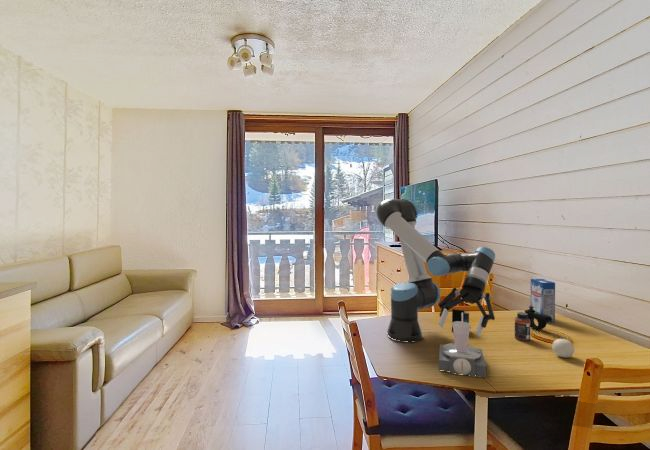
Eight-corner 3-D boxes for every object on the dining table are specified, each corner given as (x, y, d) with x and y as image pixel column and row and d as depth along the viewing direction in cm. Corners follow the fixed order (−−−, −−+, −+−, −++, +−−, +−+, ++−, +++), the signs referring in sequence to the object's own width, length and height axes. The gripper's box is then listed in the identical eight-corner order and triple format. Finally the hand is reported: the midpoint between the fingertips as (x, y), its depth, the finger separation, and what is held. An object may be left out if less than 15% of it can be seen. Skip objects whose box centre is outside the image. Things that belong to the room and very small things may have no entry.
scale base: (438, 372, 116) (438, 355, 116) (440, 353, 131) (439, 339, 131) (486, 379, 111) (486, 361, 110) (481, 359, 126) (481, 343, 125)
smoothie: (462, 355, 117) (462, 315, 116) (447, 348, 122) (447, 311, 122) (474, 351, 120) (474, 313, 119) (459, 345, 125) (459, 308, 125)
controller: (529, 325, 162) (529, 304, 162) (553, 333, 151) (553, 311, 150) (522, 326, 161) (522, 305, 161) (546, 334, 149) (546, 312, 149)
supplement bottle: (532, 342, 141) (532, 315, 141) (517, 341, 143) (517, 315, 142) (527, 336, 147) (527, 311, 147) (512, 336, 149) (512, 311, 148)
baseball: (577, 357, 126) (578, 340, 126) (569, 362, 122) (569, 344, 122) (557, 351, 132) (558, 334, 132) (549, 355, 128) (549, 338, 128)
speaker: (463, 334, 151) (463, 311, 152) (451, 331, 155) (451, 309, 156) (471, 331, 156) (471, 309, 156) (459, 329, 160) (459, 307, 161)
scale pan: (442, 357, 117) (442, 354, 117) (442, 343, 129) (442, 341, 129) (482, 362, 113) (482, 360, 113) (479, 348, 125) (479, 345, 125)
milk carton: (554, 322, 166) (555, 282, 165) (542, 322, 166) (542, 282, 165) (542, 316, 176) (542, 278, 175) (530, 316, 176) (530, 278, 175)
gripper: (513, 292, 122) (498, 344, 112) (448, 282, 140) (430, 326, 130) (508, 280, 118) (492, 333, 108) (441, 272, 136) (423, 316, 126)
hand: (458, 329), depth 119 cm, fingers open, 13 cm apart
